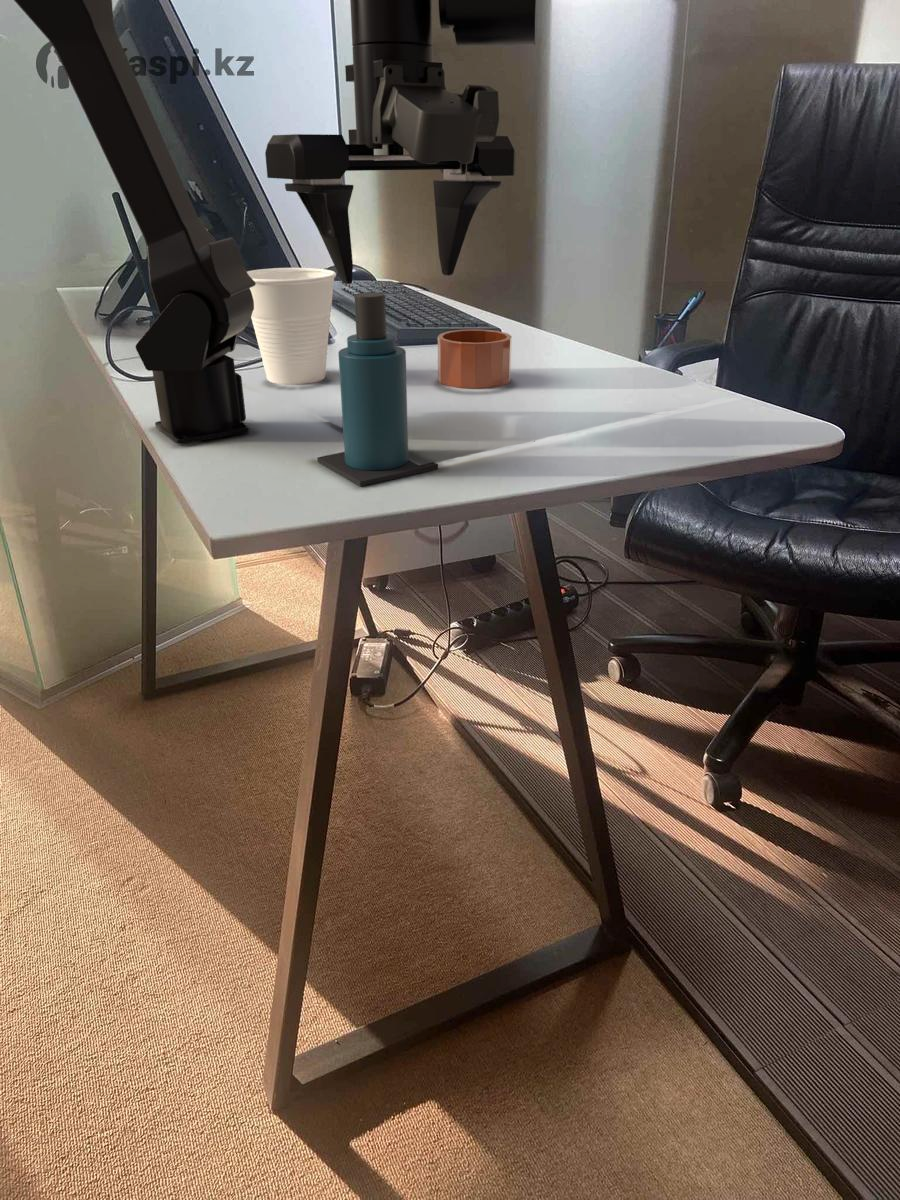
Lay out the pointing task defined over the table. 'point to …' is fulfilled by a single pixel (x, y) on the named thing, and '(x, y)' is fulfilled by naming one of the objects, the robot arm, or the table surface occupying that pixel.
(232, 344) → the robot arm
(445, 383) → the holder
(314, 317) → the cup
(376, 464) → the bottle
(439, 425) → the table surface
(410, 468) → the coaster
